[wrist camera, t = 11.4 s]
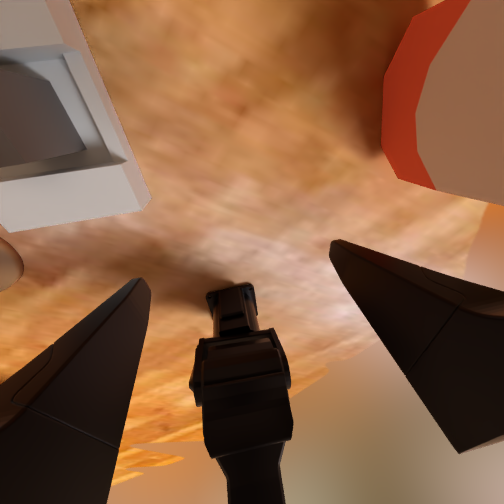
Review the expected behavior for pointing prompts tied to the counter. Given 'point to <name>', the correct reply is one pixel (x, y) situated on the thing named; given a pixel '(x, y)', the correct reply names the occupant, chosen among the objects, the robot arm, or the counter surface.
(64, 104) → the notched board
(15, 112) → the block
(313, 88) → the counter surface
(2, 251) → the bobbin
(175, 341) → the counter surface
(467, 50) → the french fries container
